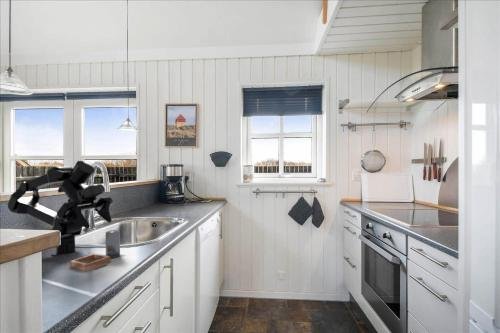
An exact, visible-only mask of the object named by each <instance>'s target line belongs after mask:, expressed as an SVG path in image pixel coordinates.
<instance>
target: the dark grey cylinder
mask: <svg viewBox="0 0 500 333" xmlns="http://www.w3.org/2000/svg"><path fill="white" fill-rule="evenodd" d="M120 254H121V230H118V229H114V230H108V231H106V232H105V256H110V259H115V258H118V257H120ZM120 258H121V257H120ZM118 259H119V258H118ZM115 260H116V259H115Z"/></svg>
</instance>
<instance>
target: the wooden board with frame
mask: <svg viewBox="0 0 500 333" xmlns="http://www.w3.org/2000/svg"><path fill="white" fill-rule="evenodd" d="M125 256H126V255H125V254H121V253H120V257H118V258H115V259H110V256H106V254H105V255H104V254H100V253H99V254H98V253H92V254H88V255H85V256H82V257H78V258H75V259H73V260H70V261H69V268H70V269H75V270H80V271H82V272H83V271H84V272H88V271H91V270H99V269H102V268H105V267H107V266H108V264H110V263H111V261H114V260H117V259H120V258H123V257H125Z"/></svg>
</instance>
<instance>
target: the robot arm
mask: <svg viewBox="0 0 500 333" xmlns="http://www.w3.org/2000/svg"><path fill="white" fill-rule="evenodd" d="M94 173H95V167H93V166H92V165H90V164H89V163H85V162H84V160H77V161H76V163H75V164H74V167H72V166H52V167H50V169H47V171H46V173H45V174H42V175H39V176H38V177H35V178H32V179H29V180H25V181H23V182H21V183H20V184H19V186H18V187H19V188H17V189H16V190H15V191H14V192H13V193H12V194H11V195H10V198H9V200H8V203H7V208H8V210H9V211H10V212H11V213H12V214H19V215H28V216H31V217H32V218H35V219H37V220H39V221H41V222H43V223H45V224H47V225H49V226H51V228H52V229H51V230H59V231H60V232H61V245H60V246H59V247H57V248H56V247H55V252H51V256H55V257H56V256H60V255H64V254H65V255H70V254H72V253H75V252H76V237H77V236H80V235H81V233H82V230H83V228H86V229H89V228H90V227H91V226H90V224H89V221H88V220H87V219H86V217H85V216H84V214H83V213H82V211H88V210H93V209H94V211H95V212H97V215H98V216H99V217H101V218H102V219H104V220H105V221H106V222H108V223H111V222H112V217H111V212H110V206H111V205H112V203H113V202H114V200H113V199H112V198H111V197H110V196H104V197H100V198H99V199H98V200H97V198H98V196H99V195H102V194H103V193H104V192H105V191H106V189H105V187H104V185H103V184H102V183H99V184H92V185H89V186H87V187H86V188H85V187H84V186H83V184H87V182H88V181H89V179H90V178H91V176H93V174H94ZM57 183H58V184H59V183H61V184H60V185H59V187H58V190H57V192H58V193H64V194H65V195H66V197H67V198H68V199H67V202H64V203H62V205H61V206H60V208H58V210H57V211H55V210H52V209H50V208H48V207H45V206H44V205H41V204H40V202H39V201H40V198H41V197H40V194H39V190H40V189H42V188H43V189H44V188H45V187H49V186H51V185H54V184H57ZM27 192H32V195H31V196H24V195H25V194H26V193H27ZM96 200H97V201H96ZM95 201H96V202H95Z"/></svg>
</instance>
